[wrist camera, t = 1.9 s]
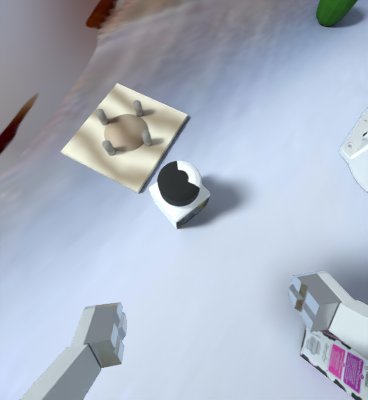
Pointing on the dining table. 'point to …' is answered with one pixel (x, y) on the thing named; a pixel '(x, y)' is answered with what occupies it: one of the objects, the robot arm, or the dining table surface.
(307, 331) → the candy bar box
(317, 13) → the bell pepper
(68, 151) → the stub cradle
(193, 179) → the medicine bottle
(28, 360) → the dining table surface
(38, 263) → the dining table surface
